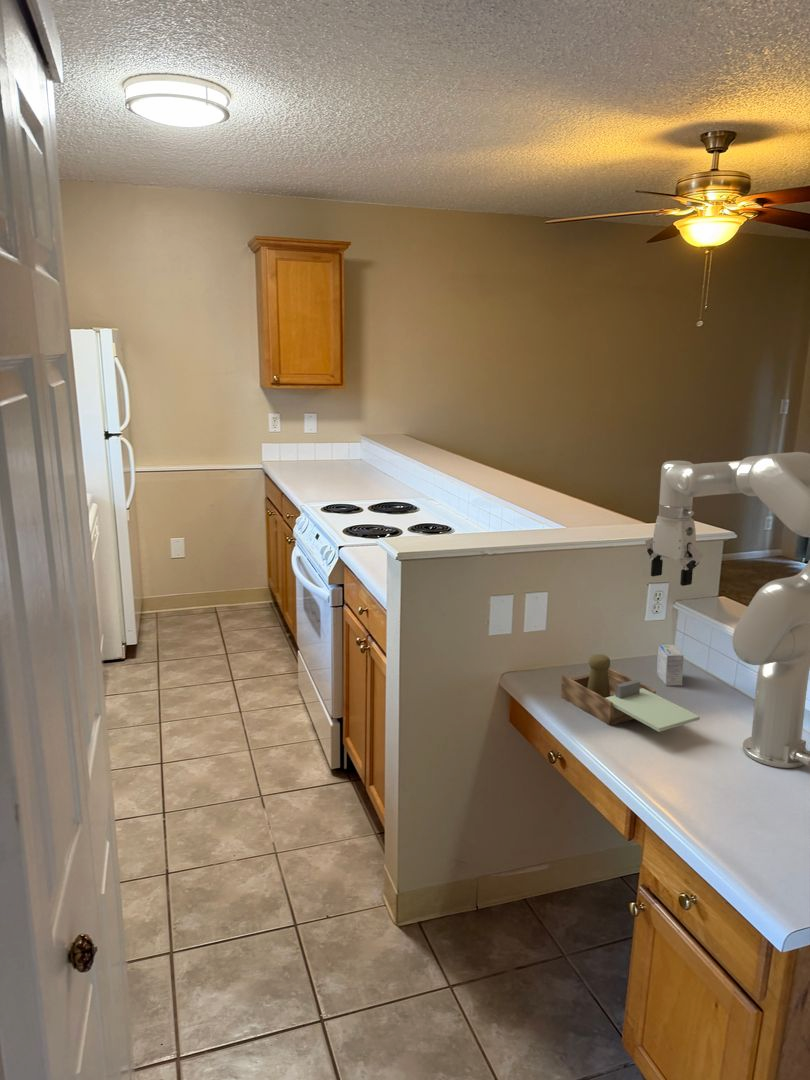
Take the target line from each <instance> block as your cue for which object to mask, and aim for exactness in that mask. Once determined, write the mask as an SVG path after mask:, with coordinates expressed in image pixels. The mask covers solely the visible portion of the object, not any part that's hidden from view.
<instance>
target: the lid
mask: <svg viewBox="0 0 810 1080" xmlns="http://www.w3.org/2000/svg"><path fill="white" fill-rule="evenodd" d="M640 683H641V681H638V680H637V679H633V680H632V681H628V682H624V683H620V684H616V695H614V696H610V697H606V699H608V700H610V701H611V702H612V706H613V707H615V708H617V709H619V710H620V711H622V712H624V713H626V714H628V715H629V716H631V717H633V718H635V720H637V721H638V722H640V723H642V724H644V725H646V726H648V727H650V728H651V729H653V730H654V731H657V732H659V733H661V732H662V731H666V730H670V729H673V728H677V727H679V726H680V727H681V726H684V725H686V724H689V723H693V722H697V721H700V718H701V716H699V715H698V714H695V713H694V712H692V711H690V710H688V709H686V708H683V707H682V706H680V705H677V704H676V703H673V702H672V701H669V700H668V699H665V698H664V697H663V696H662V697H661V696H659V695H658V694H656V693H655V694H654V693H652V692H650V691H648V690H646V689H644V688H641V689H640Z"/></svg>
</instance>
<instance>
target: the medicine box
mask: <svg viewBox="0 0 810 1080" xmlns="http://www.w3.org/2000/svg"><path fill="white" fill-rule="evenodd" d="M656 659H657V661H656V675H657V676H658V677H659V679H660V680H661V681H662V682H663V684H664V685H665V686H670V687H671V686H672V687H675V686H676V687H677V686H678V687H679V686H680V687H681V686H682V685H683V676H684V675H683V673H684V654H683V653H682V652H681V651H680V650H679V649H678V648H677V647H676V646H675V644H659V645H658V646H657V658H656Z"/></svg>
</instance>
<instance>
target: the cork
mask: <svg viewBox="0 0 810 1080" xmlns="http://www.w3.org/2000/svg"><path fill="white" fill-rule="evenodd" d="M588 665H589V667H590V670H589V674H590V676H589V681H588V687H587V688H588V689H590V690H591V691H593V692H595V693H597V694H599V695H601V696H602V697H604V698H606V697H610V689H609V678H608V669H609V668H610V667H611V660H610V658H609V656H607V655H605V654H601V653H600V654H597V653H596V654H593V655H591V656H590V657H589V659H588Z"/></svg>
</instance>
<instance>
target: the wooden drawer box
mask: <svg viewBox="0 0 810 1080" xmlns="http://www.w3.org/2000/svg"><path fill="white" fill-rule="evenodd" d="M589 676H590V673H589V674H585V675H581V676H577V677H573V678H569V677H568V676H566V675H564V674H563V675H561V685H560V686H561V688H560V689H561V693H560V697H561V698H562V699H564V700H566V701H567V702H569V703H570V704H572V705H573V706H575V707H577V708H579V709H581V710H582V711H584V712H585V713H587V714H589V715H590V716H592V717H594V718H595V719H597V720H599V721H601V722H603V723H604V724H606V725H608V726H613V725H616V724H620V723H623V722H627V721H631V720H634V719H635V718H633V717H631V716H629V715H628V714H626V713H624V712H622V711H620V710H619V709H617V708H615V707H613V706H612V702H611V701H610V700H608V699H606V698H604V697H602V696H601V695H599V694H597V693H595V692H593V691H591V690H590V689H588V688H587V687H588V681H589ZM608 678H609V689H610V696H614V695H616V684H620V683H624V682H628V681H632V680H634V679H633V678H630V677H628V676H627V675H625V674H622V673H621V672H618V671H617V670H614V669H613V668H610V667H609V669H608ZM641 688H644V689H646V690H648V691H650V692H652V693H654V694H656V690H655V689H653V688H651V687H650V686H647V685H645V684H643V683H641V682H640V689H641ZM635 720H636V719H635Z"/></svg>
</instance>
